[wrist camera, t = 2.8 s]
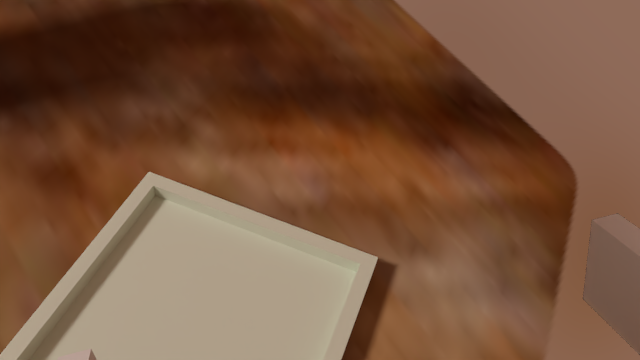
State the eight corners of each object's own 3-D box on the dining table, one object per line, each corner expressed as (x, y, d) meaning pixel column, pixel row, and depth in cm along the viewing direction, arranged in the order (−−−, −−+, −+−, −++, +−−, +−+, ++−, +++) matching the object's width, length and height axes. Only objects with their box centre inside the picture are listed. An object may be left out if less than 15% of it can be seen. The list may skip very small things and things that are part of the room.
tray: (-27, 414, 29) (-41, 404, 28) (152, 186, 41) (148, 171, 39) (269, 558, 26) (270, 555, 25) (373, 270, 38) (378, 257, 36)
